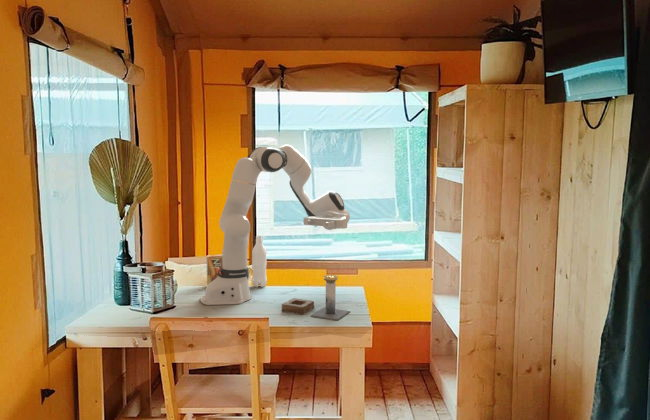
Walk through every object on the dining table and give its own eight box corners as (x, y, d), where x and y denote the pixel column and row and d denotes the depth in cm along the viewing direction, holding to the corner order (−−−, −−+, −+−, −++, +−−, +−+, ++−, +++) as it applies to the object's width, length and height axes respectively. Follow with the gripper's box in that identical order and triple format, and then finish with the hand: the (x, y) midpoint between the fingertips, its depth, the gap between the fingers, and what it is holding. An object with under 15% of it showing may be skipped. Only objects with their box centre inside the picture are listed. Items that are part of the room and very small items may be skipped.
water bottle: (264, 288, 254) (263, 237, 251) (250, 287, 255) (249, 237, 252) (268, 284, 261) (268, 235, 258) (255, 284, 262) (254, 234, 259)
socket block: (303, 314, 213) (303, 307, 213) (281, 311, 217) (281, 304, 217) (314, 307, 222) (314, 301, 222) (293, 304, 226) (293, 298, 226)
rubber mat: (337, 320, 206) (337, 319, 205) (310, 316, 211) (310, 315, 211) (349, 312, 216) (349, 311, 216) (323, 308, 221) (323, 307, 221)
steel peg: (326, 315, 210) (326, 278, 208) (321, 311, 215) (321, 275, 214) (339, 314, 212) (339, 277, 210) (334, 310, 217) (334, 274, 215)
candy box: (224, 284, 261) (224, 254, 260) (226, 286, 257) (225, 255, 256) (206, 285, 258) (206, 255, 256) (208, 287, 254) (207, 256, 253)
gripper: (310, 212, 251) (297, 215, 238) (350, 214, 242) (338, 218, 229) (310, 225, 251) (297, 229, 239) (350, 228, 243) (338, 232, 230)
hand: (317, 223), depth 234 cm, fingers open, 8 cm apart
